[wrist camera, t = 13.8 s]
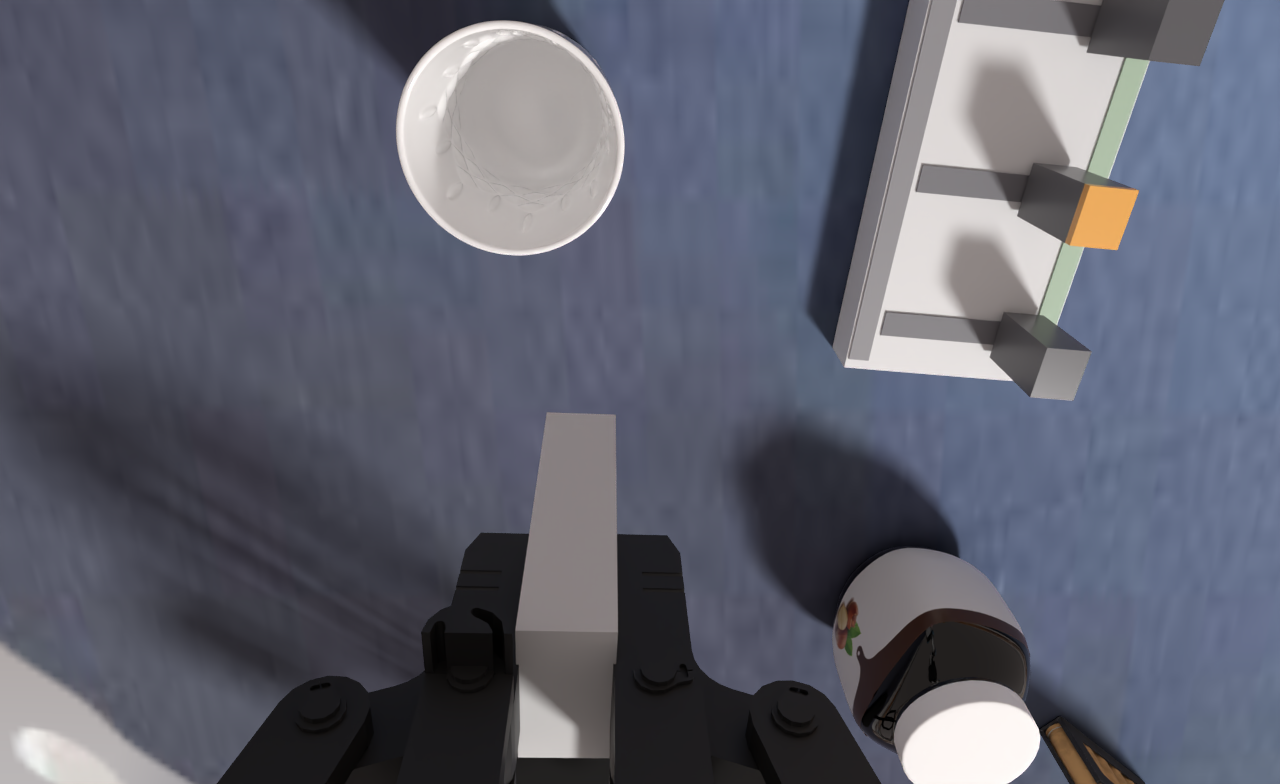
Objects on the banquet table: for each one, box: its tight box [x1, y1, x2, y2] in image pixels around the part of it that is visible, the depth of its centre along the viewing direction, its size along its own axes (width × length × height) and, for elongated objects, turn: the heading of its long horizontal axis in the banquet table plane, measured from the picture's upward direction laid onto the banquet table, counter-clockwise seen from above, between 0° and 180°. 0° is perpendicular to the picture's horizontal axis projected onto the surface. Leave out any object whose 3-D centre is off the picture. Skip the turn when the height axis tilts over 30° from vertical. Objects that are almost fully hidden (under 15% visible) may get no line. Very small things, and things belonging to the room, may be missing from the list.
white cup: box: [396, 20, 624, 255], centre depth 32 cm, size 8×8×10 cm
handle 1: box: [990, 312, 1091, 401], centre depth 37 cm, size 2×2×4 cm
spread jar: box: [832, 546, 1040, 784], centre depth 46 cm, size 12×11×12 cm
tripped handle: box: [1017, 163, 1139, 250], centre depth 34 cm, size 2×2×5 cm
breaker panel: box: [832, 0, 1150, 381], centre depth 37 cm, size 19×10×3 cm, turn 174°
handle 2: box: [1086, 0, 1224, 66], centre depth 31 cm, size 2×2×4 cm
